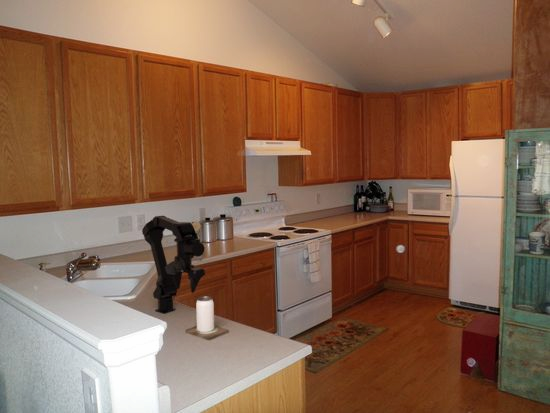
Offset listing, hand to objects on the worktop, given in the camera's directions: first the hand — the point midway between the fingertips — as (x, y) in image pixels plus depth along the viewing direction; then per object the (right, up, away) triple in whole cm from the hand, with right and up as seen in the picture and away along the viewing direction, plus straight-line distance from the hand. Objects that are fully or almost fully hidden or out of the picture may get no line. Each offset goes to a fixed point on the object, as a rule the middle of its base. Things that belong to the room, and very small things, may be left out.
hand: (185, 290), depth 182 cm
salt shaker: (-16, -2, +120) cm, 121 cm away
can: (+11, -12, -14) cm, 22 cm away
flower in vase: (-20, -1, +135) cm, 136 cm away
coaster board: (+11, -13, -14) cm, 22 cm away
